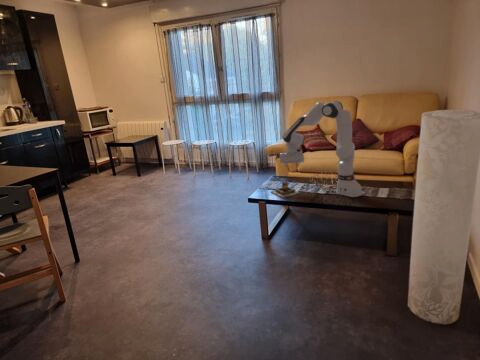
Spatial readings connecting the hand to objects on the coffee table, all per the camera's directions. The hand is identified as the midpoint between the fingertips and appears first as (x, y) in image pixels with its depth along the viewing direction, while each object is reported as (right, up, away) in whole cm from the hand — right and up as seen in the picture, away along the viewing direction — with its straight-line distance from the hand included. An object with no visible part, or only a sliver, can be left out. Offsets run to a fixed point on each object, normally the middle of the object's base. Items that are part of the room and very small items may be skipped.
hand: (292, 166), depth 277 cm
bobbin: (-6, -21, -3) cm, 22 cm away
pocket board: (-6, -22, -3) cm, 23 cm away
